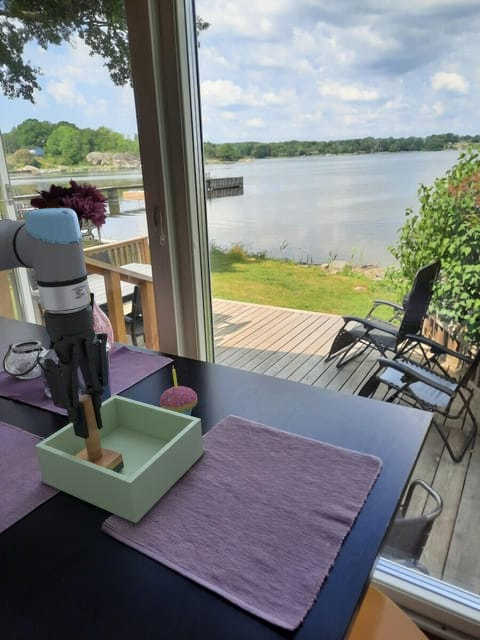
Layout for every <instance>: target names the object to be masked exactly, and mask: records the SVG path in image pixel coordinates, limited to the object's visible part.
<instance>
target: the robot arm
mask: <svg viewBox="0 0 480 640" xmlns="http://www.w3.org/2000/svg"><path fill="white" fill-rule="evenodd" d="M85 258H86V257H85V251H84V245H83V233H82V232H81V227H80V221H79V218H78V215H77V212H75V210H74V209H72V208H69V207H59V208H58V207H50V208H38V209H32V210H28V211H26V212H25V214H24V220H15V219H10V218H5V219H0V272H5V271H8V270H13V269H18V268H19V269H20V268H23V269H31V270H34V275H35V280H36V285H37V290H38V296H39V302H40V307H41V309H43V310H44V311H43V313H42V315H43V316H42V317H43V321H44V325H45V331H46V333H47V335H48V337H49V344H48V351H47V352H46V353H45V355H44V356H42V355H41V356H37V358H36V363H37V364H38V365H39V367H40V368H41V369H42V371H43V374H44V377H45V380H46V383H47V385H48V386H47V387H48V390H49V393H50V396H51V399H52V402H53V405H54V407H56V408H59V409H63V410H66V413H67V418H68V422H69V424H70V423H73V427H74V433H75V436H78V437H81V438H84V439H87V438H88V437H89V433H88V427H87V421H86V416H85V410H84V405H83V404H80V403H79V396H80V394H79V391H78V374H77V369H78V368H79V366H80V370H81V373H82V376H83V380H84V383H85V386H86V390H87V391H88V392H89V393H85V394H84V395H86V394H88V395H91V398H92V403H93V408H94V412H95V417H96V422H97V427H98V429H101V428H103V425H102V419H101V413H100V408H101V407H102V403H101V397H100V395H103V394H104V390H103V389H102V388H103V386H107V385H108V373H107V357H106V343H107V342H108V338H109V334H108V333H106V332H100V331H95V329H94V327H95V317H94V316H95V315H94V312H93V310H92V306H91V305H90V304H89V303H90V301H91V298H90V293H91V292H90V286H89V278H88V272H87V265H86V259H85ZM57 358H58V360H57ZM100 377H101V378H100Z"/></svg>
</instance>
